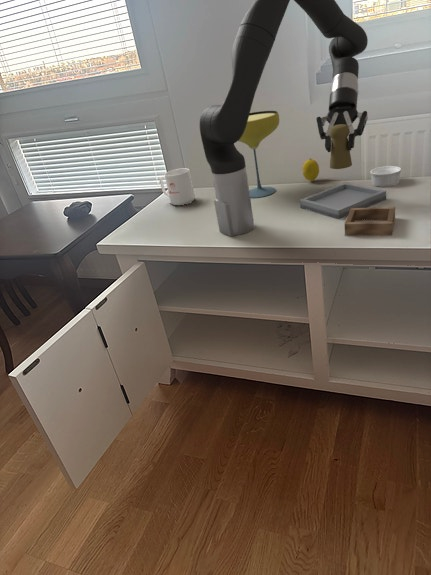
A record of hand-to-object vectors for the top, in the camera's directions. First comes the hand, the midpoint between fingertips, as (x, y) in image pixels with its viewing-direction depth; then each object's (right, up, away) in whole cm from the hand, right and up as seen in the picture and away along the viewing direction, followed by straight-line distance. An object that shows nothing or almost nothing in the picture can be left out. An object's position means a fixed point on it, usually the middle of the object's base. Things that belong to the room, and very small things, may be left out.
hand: (339, 149), depth 117 cm
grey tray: (+3, -13, +9) cm, 16 cm away
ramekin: (+20, -5, +18) cm, 27 cm away
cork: (+2, -3, +4) cm, 6 cm away
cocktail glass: (-18, -5, +32) cm, 37 cm away
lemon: (0, -1, +33) cm, 33 cm away
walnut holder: (+5, -22, -8) cm, 24 cm away
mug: (-46, -7, +39) cm, 61 cm away
